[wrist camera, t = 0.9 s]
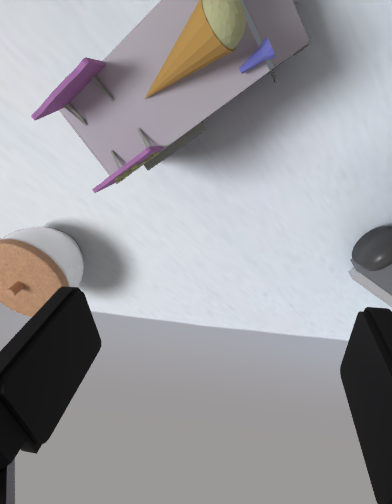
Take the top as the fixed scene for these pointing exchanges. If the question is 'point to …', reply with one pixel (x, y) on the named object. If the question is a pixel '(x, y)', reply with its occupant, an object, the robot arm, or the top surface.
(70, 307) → the robot arm
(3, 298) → the lidded bowl
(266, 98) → the top surface
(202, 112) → the toy vehicle
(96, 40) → the top surface
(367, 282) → the chassis
